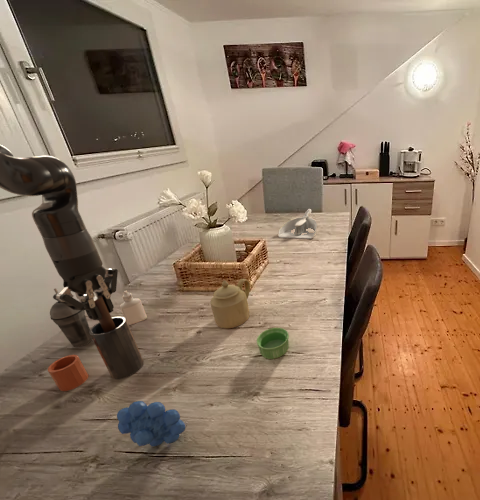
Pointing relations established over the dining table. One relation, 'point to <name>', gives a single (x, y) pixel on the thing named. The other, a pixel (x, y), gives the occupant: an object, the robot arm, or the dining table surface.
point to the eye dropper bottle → (132, 309)
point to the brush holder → (68, 372)
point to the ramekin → (273, 342)
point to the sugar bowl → (231, 304)
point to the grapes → (150, 423)
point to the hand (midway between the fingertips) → (103, 315)
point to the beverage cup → (71, 323)
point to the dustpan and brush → (299, 227)
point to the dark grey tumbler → (118, 349)
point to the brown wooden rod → (104, 315)
